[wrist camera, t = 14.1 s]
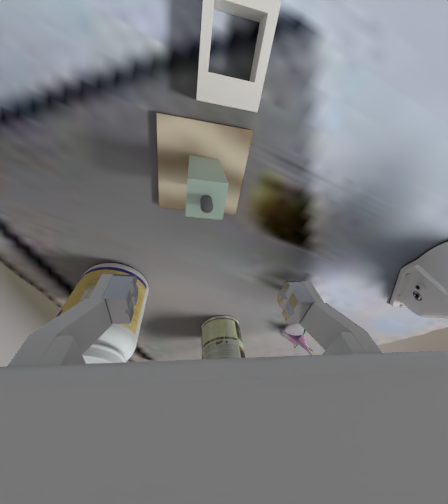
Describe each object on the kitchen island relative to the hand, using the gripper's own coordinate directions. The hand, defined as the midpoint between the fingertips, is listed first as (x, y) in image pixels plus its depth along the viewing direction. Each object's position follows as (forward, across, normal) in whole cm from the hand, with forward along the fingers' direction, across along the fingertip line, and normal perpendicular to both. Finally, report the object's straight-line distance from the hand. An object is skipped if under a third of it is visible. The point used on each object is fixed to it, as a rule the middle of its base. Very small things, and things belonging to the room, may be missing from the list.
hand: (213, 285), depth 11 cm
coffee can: (+23, -8, +39) cm, 46 cm away
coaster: (+23, 0, 0) cm, 23 cm away
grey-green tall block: (+22, 0, 0) cm, 22 cm away
